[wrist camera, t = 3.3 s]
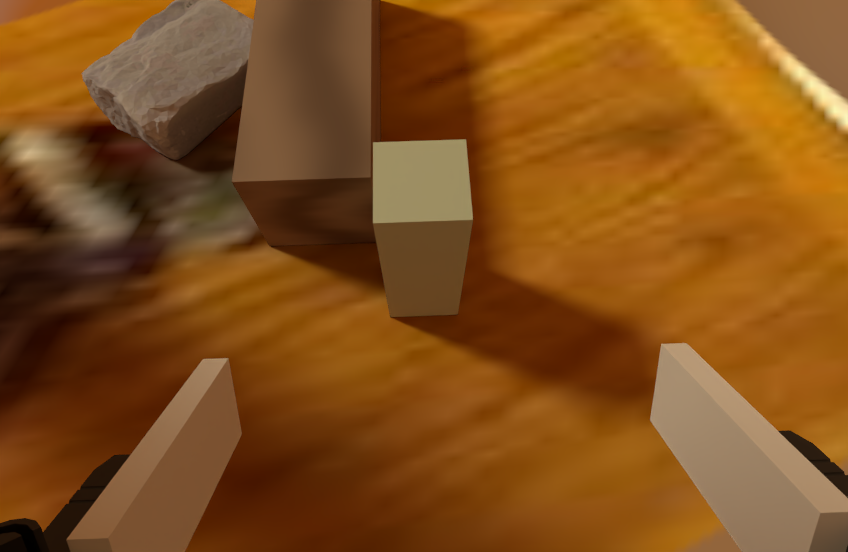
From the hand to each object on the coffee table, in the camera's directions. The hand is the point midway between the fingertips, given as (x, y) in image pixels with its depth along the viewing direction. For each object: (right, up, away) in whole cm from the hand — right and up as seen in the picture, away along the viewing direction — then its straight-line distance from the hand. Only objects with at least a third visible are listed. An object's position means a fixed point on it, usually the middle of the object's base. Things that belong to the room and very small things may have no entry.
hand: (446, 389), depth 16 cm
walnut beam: (-7, +15, +21) cm, 27 cm away
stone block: (-18, +17, +23) cm, 34 cm away
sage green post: (-1, +3, +16) cm, 16 cm away
